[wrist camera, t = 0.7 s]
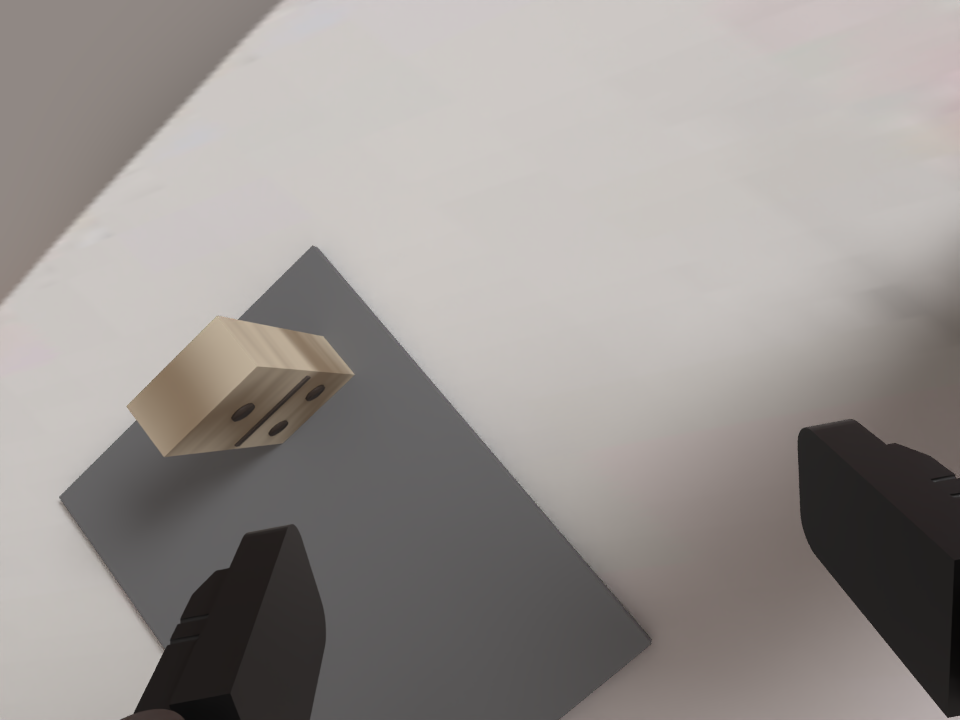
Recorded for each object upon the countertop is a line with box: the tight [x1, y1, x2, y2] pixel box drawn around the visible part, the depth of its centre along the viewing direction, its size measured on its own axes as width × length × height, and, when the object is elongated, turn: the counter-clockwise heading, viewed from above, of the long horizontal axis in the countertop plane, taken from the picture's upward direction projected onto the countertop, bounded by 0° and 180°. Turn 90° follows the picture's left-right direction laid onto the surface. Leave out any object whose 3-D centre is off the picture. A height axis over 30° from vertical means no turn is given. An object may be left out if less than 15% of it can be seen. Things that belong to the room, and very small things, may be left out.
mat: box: [59, 246, 652, 720], centre depth 36 cm, size 19×24×1 cm
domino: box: [127, 316, 355, 457], centre depth 32 cm, size 5×3×9 cm, turn 131°
